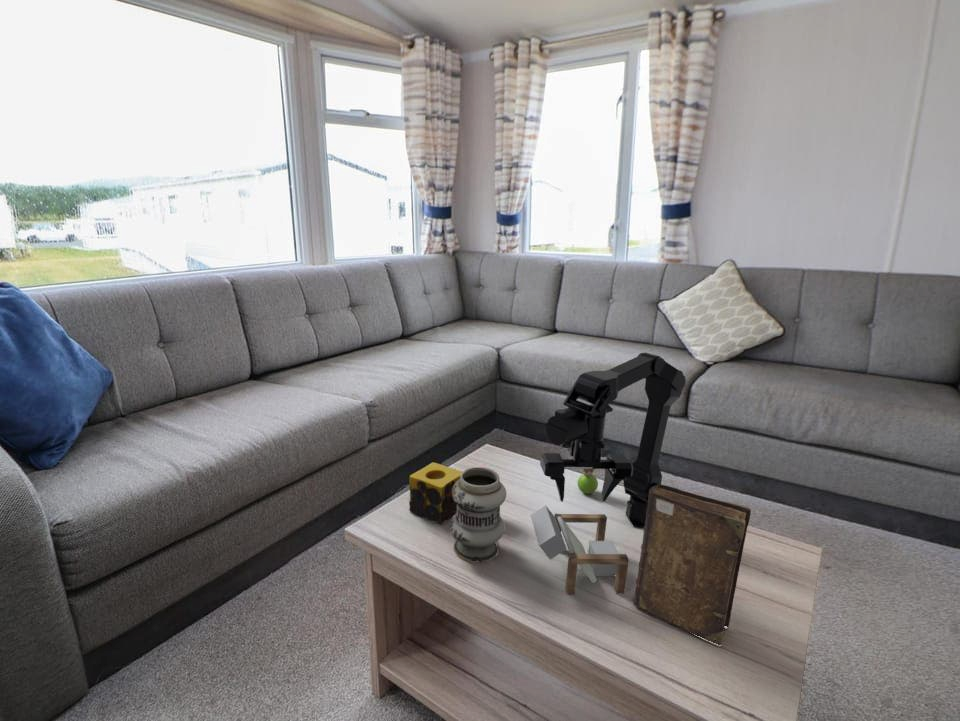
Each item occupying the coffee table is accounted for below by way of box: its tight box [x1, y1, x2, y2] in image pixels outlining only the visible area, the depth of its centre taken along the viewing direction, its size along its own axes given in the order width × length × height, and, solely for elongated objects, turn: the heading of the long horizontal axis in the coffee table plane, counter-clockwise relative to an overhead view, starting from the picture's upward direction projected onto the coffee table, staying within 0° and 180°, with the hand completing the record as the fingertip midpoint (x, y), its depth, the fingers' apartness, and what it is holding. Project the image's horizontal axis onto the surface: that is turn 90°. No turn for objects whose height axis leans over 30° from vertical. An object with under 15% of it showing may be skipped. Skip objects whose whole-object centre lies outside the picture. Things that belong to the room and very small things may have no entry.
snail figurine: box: [577, 469, 599, 495], centre depth 142 cm, size 5×6×12 cm
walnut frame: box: [553, 513, 630, 595], centre depth 110 cm, size 12×16×8 cm
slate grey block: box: [587, 540, 620, 577], centre depth 111 cm, size 5×5×5 cm
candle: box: [408, 462, 463, 525], centre depth 130 cm, size 10×10×10 cm
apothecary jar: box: [449, 466, 507, 563], centre depth 114 cm, size 12×12×18 cm
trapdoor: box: [530, 505, 598, 583], centre depth 110 cm, size 14×12×5 cm
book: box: [632, 484, 752, 646], centre depth 95 cm, size 17×7×25 cm, turn 51°
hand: (582, 500), depth 113 cm, fingers open, 9 cm apart
